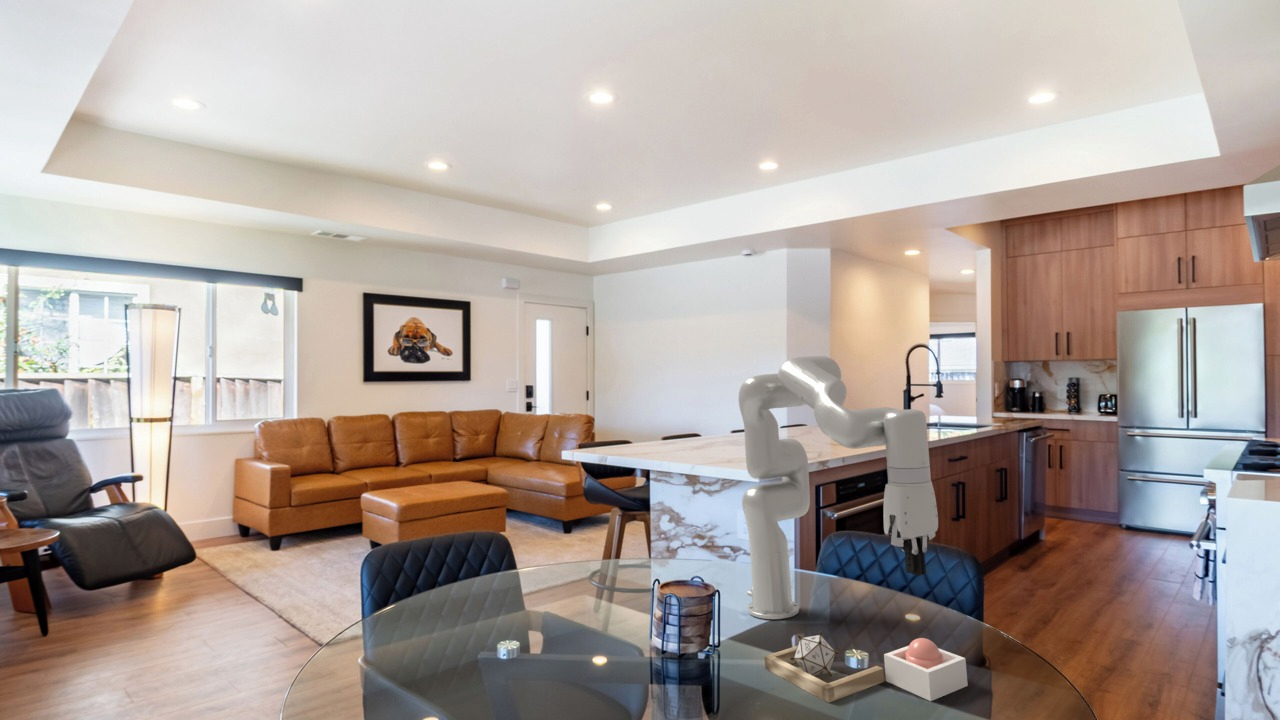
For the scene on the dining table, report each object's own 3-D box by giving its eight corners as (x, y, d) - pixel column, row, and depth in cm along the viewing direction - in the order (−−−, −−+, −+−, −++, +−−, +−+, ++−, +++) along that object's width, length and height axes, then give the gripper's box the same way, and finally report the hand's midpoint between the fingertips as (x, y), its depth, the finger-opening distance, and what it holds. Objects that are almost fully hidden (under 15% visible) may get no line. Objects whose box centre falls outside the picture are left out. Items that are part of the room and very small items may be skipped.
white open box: (886, 681, 128) (883, 654, 128) (922, 667, 133) (920, 641, 133) (930, 701, 119) (928, 672, 120) (967, 685, 124) (965, 658, 124)
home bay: (765, 668, 137) (764, 656, 137) (817, 651, 144) (816, 639, 144) (828, 702, 121) (827, 688, 121) (884, 681, 128) (883, 668, 128)
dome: (899, 669, 128) (896, 638, 128) (922, 660, 131) (920, 630, 131) (927, 681, 122) (925, 648, 122) (951, 671, 125) (948, 640, 125)
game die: (826, 698, 131) (839, 669, 125) (783, 680, 133) (793, 650, 127) (833, 659, 138) (846, 630, 132) (792, 643, 140) (803, 613, 134)
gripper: (919, 468, 134) (926, 561, 134) (864, 478, 127) (872, 576, 127) (952, 472, 128) (960, 570, 127) (897, 483, 121) (904, 586, 120)
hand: (916, 573), depth 127 cm, fingers closed
